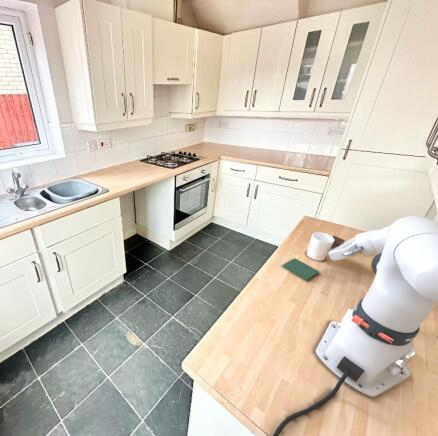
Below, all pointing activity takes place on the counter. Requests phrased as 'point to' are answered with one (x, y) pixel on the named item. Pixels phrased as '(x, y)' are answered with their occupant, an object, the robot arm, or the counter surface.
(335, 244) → the walnut block
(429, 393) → the counter surface
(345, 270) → the counter surface
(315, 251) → the white cup
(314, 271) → the flat green block
